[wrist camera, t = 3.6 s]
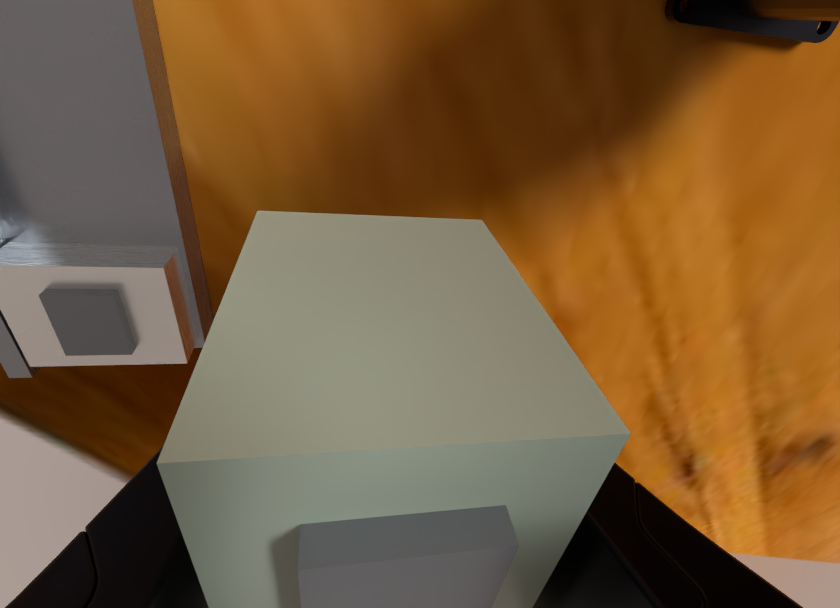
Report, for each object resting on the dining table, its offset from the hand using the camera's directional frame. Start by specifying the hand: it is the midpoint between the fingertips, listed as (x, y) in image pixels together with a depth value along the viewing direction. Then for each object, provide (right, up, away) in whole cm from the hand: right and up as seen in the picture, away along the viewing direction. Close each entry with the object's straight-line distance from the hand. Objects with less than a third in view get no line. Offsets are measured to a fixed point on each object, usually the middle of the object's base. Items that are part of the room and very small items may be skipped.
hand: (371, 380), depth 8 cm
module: (0, +1, +1) cm, 1 cm away
